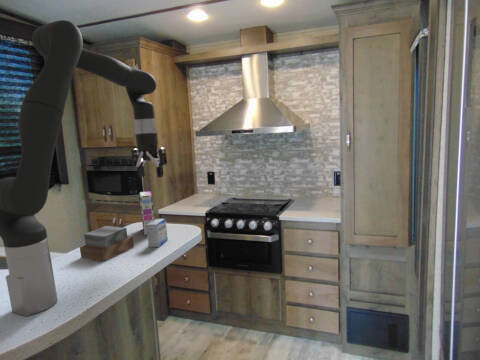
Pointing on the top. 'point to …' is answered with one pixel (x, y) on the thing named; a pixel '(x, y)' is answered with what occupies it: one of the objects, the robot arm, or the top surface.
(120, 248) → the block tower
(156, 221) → the medicine box
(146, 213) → the white cardboard box
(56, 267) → the top surface
